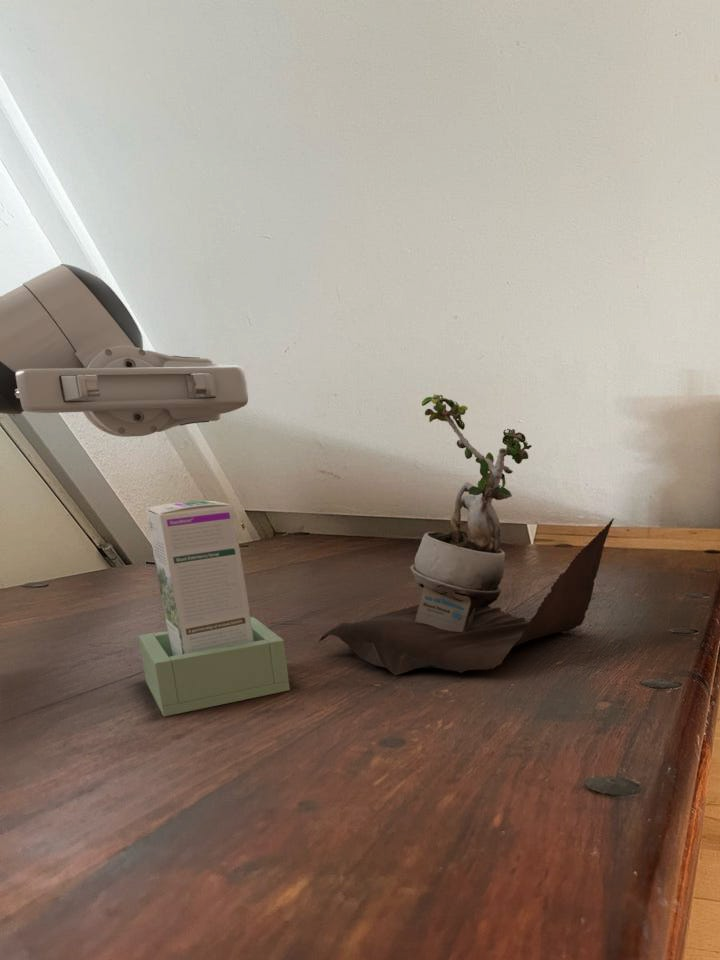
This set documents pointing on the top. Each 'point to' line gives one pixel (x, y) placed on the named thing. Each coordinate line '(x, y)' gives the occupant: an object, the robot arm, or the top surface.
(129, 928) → the top surface
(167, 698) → the socket
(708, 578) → the top surface
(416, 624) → the potted plant
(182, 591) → the syrup box
